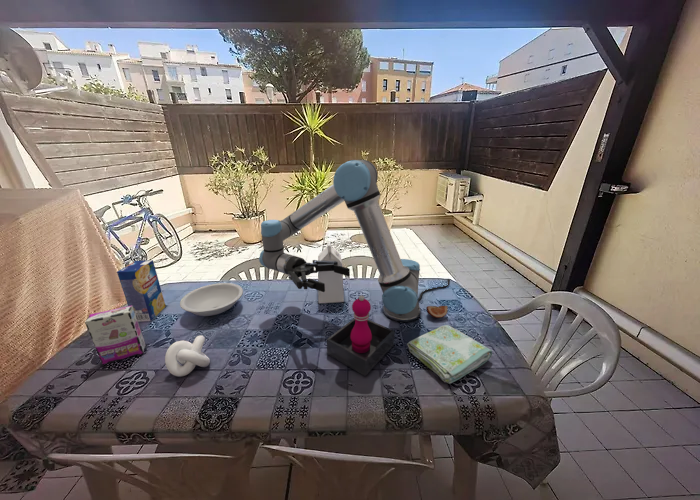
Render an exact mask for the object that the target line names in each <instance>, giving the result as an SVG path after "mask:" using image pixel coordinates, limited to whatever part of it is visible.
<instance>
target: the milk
mask: <svg viewBox="0 0 700 500" xmlns="http://www.w3.org/2000/svg"><path fill="white" fill-rule="evenodd" d="M317 260H318V261H335V262H338V266H342V267H343V260H342V256H341V254H340V252H339V251H338V250H337V249H335V248H333V246H332V244H331V241H329V240H328V241H327V246H326V247H325V248H324V249H323V250H322V251H321V252H320V253H319V254H318V256H317ZM317 281H318V282H321V283H324V284H325V292H321V291H319V290H317V292H318V295H317V297H318V301H317V302H318V303H317V304H330V303H331V304H332V303H344V302H345V294H344V293H345V292H344V275H342V274H339V273H335V272H334V271H319V272H317Z"/></svg>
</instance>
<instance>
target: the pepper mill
mask: <svg viewBox="0 0 700 500" xmlns="http://www.w3.org/2000/svg"><path fill="white" fill-rule="evenodd" d="M351 309H352V312H353V319H354V318H355V325H354V327H353V329H352V331H351V336H350V338H351V341H352V349H353V350H354V351H355V352H357V353H365V352H367V351H369V349H370V341H371V340H372V334H371V330H370V328H369V326H368V323H367V319H368V320H369V318H370V312H371V309H372V305H371V302H370V301H369V300H368V299H367V298H365V296H364V295H363V294H362V295H359V296H358V298H356V299H355V300H354V301H353V302H352V305H351Z"/></svg>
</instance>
